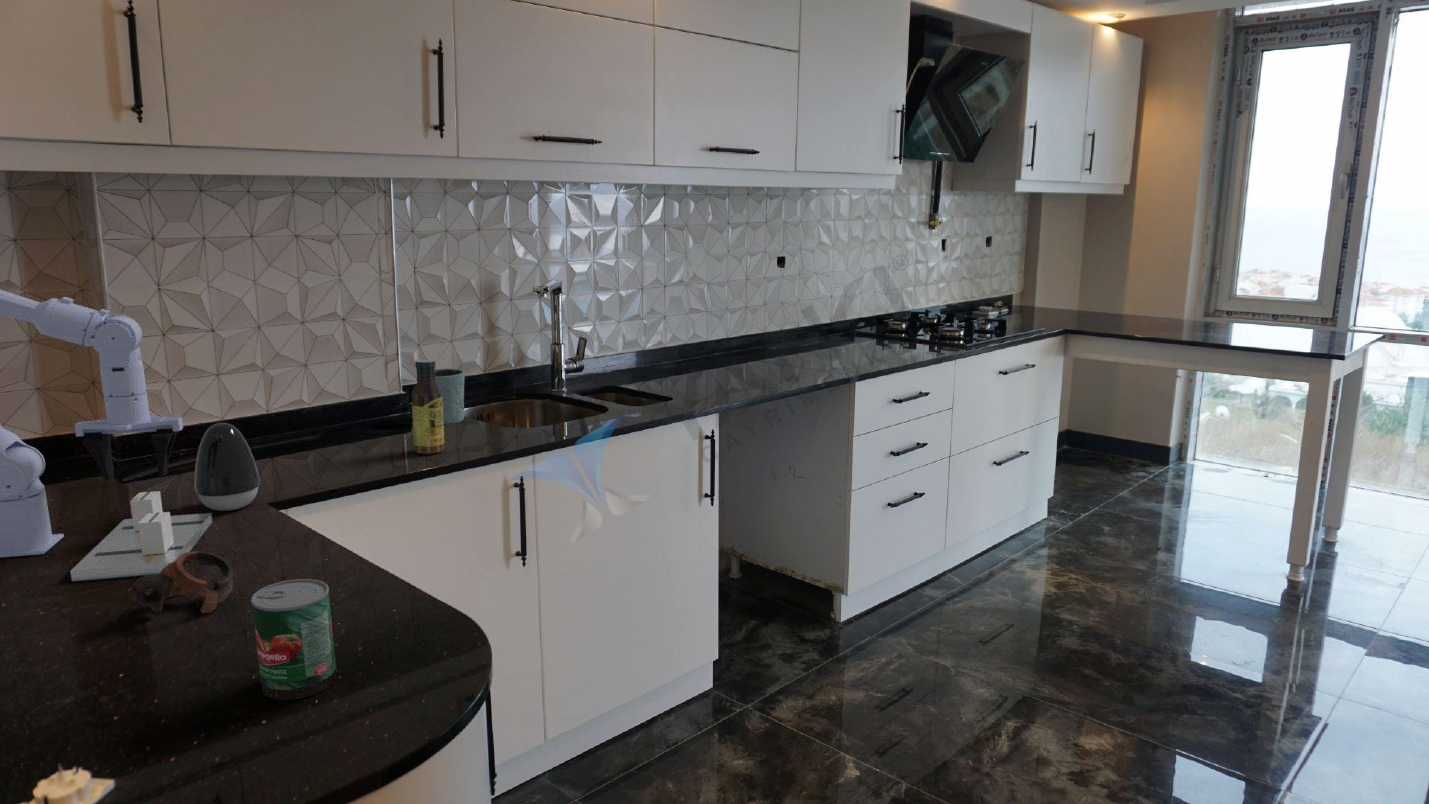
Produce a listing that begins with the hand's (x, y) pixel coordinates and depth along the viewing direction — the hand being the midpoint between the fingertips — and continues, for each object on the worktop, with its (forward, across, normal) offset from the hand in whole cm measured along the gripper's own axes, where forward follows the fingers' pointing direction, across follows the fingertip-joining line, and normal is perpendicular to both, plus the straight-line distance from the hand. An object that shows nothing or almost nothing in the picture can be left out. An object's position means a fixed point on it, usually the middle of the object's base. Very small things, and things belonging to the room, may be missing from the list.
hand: (136, 476), depth 147 cm
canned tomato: (+10, +32, -56) cm, 65 cm away
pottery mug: (+10, +14, -31) cm, 36 cm away
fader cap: (+8, +6, -12) cm, 16 cm away
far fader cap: (+8, +1, -1) cm, 8 cm away
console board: (+10, +2, -7) cm, 12 cm away
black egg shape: (+10, +10, +12) cm, 19 cm away
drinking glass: (+10, +46, +70) cm, 84 cm away
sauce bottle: (+10, +43, +41) cm, 60 cm away
